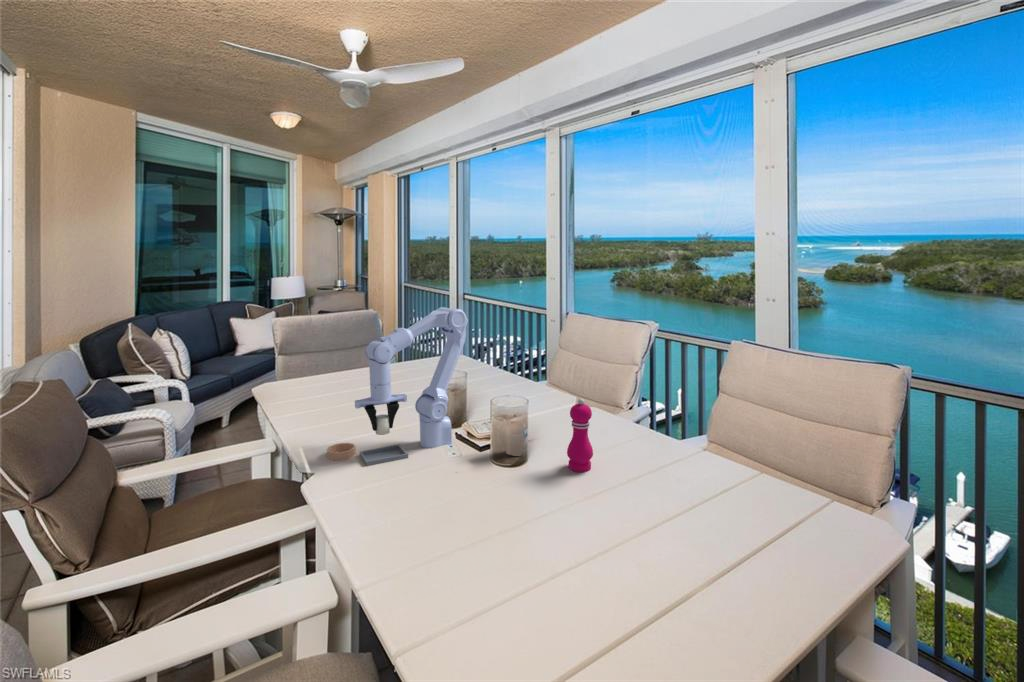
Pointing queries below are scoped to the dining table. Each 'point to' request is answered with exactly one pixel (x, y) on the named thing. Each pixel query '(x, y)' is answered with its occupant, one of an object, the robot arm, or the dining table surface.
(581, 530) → the dining table surface
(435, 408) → the robot arm
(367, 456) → the parts tray
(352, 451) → the bowl
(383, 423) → the pale grey rounded cylinder
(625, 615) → the dining table surface
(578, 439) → the pepper mill
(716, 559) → the dining table surface
